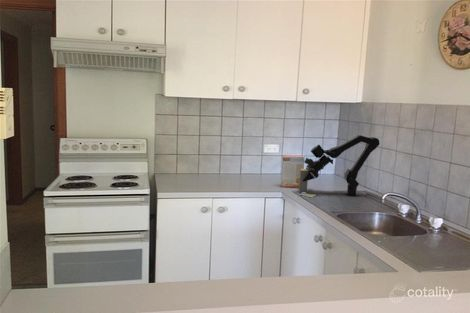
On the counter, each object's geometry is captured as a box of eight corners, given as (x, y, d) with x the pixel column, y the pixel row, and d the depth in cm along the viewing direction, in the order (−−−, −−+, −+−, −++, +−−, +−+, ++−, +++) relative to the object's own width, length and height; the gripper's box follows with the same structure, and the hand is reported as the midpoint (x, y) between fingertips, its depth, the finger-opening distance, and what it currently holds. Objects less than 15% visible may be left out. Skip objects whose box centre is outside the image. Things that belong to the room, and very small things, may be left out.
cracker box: (301, 186, 284) (303, 155, 281) (302, 188, 278) (304, 156, 275) (280, 185, 283) (282, 154, 280) (281, 187, 277) (283, 155, 274)
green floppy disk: (303, 193, 262) (303, 192, 262) (315, 195, 258) (315, 194, 258) (299, 195, 256) (299, 194, 256) (311, 197, 252) (311, 196, 252)
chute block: (305, 191, 268) (307, 169, 266) (306, 193, 264) (308, 170, 262) (298, 191, 268) (300, 168, 266) (299, 192, 264) (301, 170, 262)
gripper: (310, 151, 272) (292, 167, 274) (314, 155, 253) (294, 172, 255) (322, 164, 272) (303, 180, 274) (326, 169, 254) (307, 186, 256)
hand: (302, 179), depth 265 cm, fingers open, 9 cm apart
